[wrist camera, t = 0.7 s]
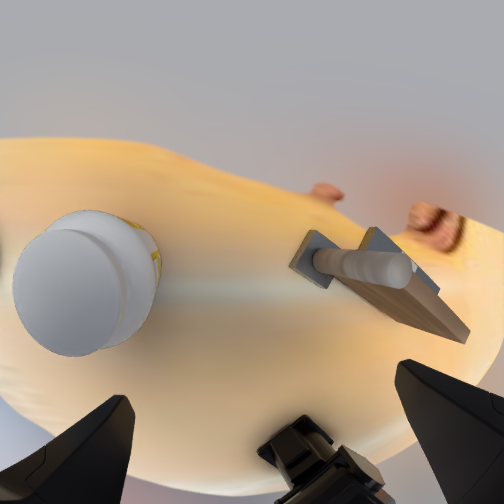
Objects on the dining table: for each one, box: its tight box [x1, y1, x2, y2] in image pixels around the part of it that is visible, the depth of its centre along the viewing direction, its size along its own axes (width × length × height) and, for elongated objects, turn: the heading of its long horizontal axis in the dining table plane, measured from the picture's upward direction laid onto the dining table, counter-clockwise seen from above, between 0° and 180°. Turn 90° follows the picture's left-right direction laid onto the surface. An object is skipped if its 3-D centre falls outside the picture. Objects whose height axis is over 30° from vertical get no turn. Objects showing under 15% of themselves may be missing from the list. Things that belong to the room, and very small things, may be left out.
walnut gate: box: [313, 248, 470, 344], centre depth 20 cm, size 2×12×9 cm, turn 57°
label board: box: [289, 227, 440, 295], centre depth 26 cm, size 8×18×1 cm, turn 57°
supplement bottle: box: [13, 210, 161, 357], centre depth 15 cm, size 7×7×13 cm
